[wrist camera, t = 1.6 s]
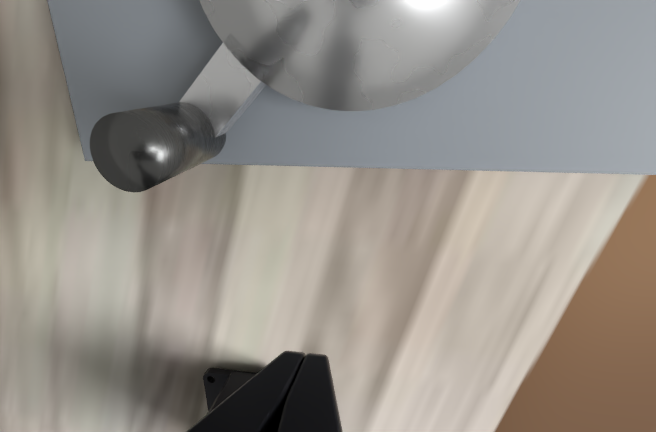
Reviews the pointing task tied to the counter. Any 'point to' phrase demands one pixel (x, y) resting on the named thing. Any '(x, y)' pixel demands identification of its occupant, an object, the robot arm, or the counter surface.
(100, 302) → the counter surface
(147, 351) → the counter surface
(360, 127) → the slate board
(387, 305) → the counter surface
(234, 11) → the silver round handled piece
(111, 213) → the counter surface
